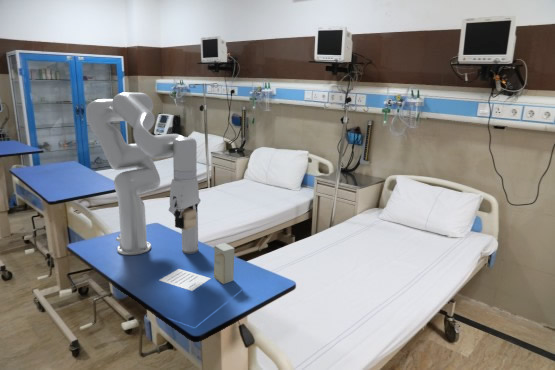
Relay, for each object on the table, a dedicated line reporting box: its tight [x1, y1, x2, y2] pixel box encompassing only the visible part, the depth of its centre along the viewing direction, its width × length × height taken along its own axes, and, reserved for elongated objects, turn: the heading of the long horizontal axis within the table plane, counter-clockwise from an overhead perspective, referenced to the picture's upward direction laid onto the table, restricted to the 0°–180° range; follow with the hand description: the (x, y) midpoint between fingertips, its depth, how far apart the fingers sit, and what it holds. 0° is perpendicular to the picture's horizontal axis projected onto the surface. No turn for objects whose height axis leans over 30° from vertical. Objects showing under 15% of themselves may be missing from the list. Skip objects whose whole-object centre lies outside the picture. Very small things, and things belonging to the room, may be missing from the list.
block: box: [174, 208, 196, 230], centre depth 136 cm, size 5×5×6 cm
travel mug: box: [181, 207, 199, 255], centre depth 154 cm, size 6×7×20 cm
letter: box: [158, 268, 212, 292], centre depth 133 cm, size 14×10×1 cm
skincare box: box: [213, 241, 235, 285], centre depth 133 cm, size 6×4×12 cm
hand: (185, 224), depth 137 cm, fingers closed on block, 5 cm apart
